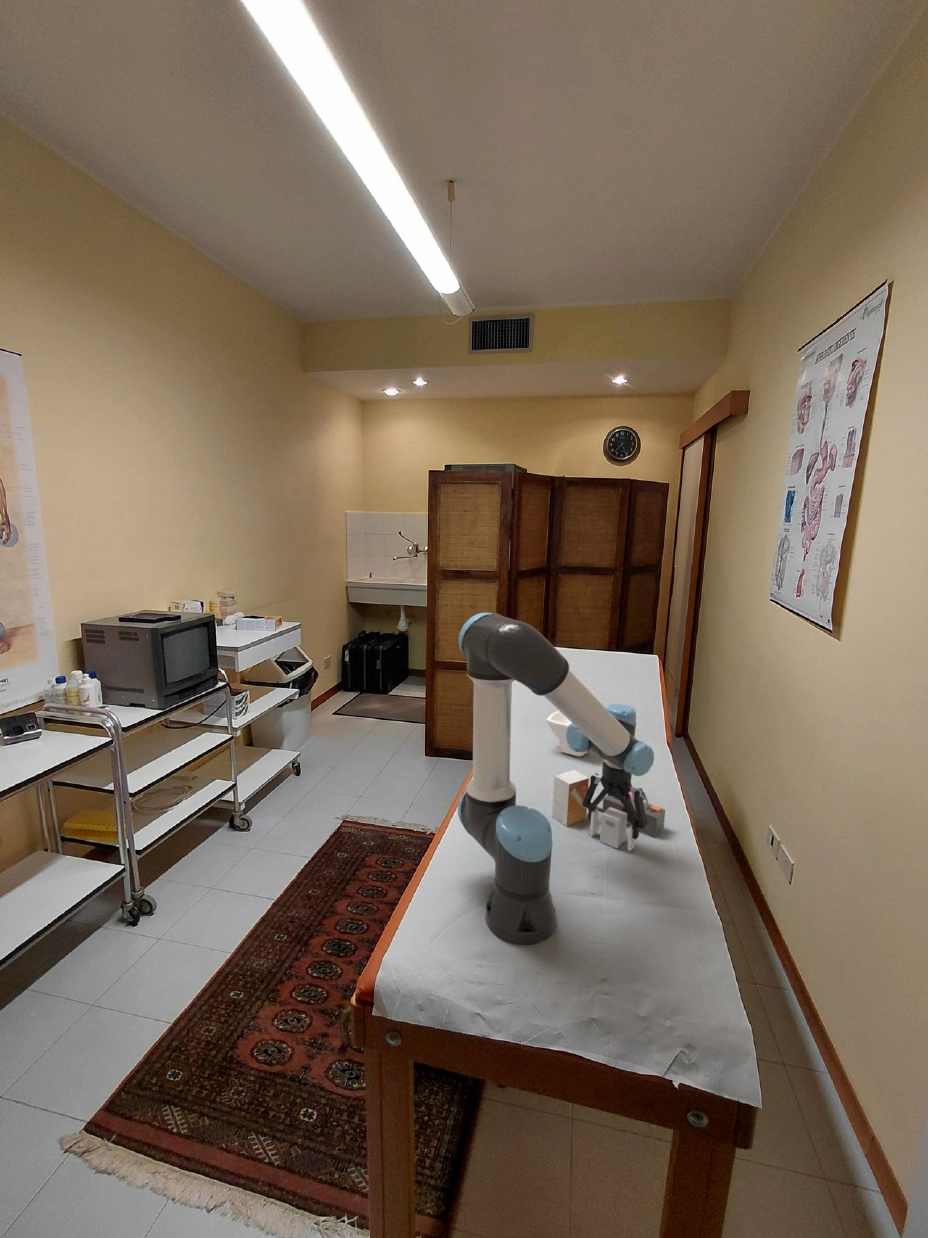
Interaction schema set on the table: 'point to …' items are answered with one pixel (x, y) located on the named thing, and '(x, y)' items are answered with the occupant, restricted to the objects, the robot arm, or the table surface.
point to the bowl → (562, 731)
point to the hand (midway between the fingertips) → (611, 840)
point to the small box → (569, 797)
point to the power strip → (652, 812)
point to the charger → (613, 827)
